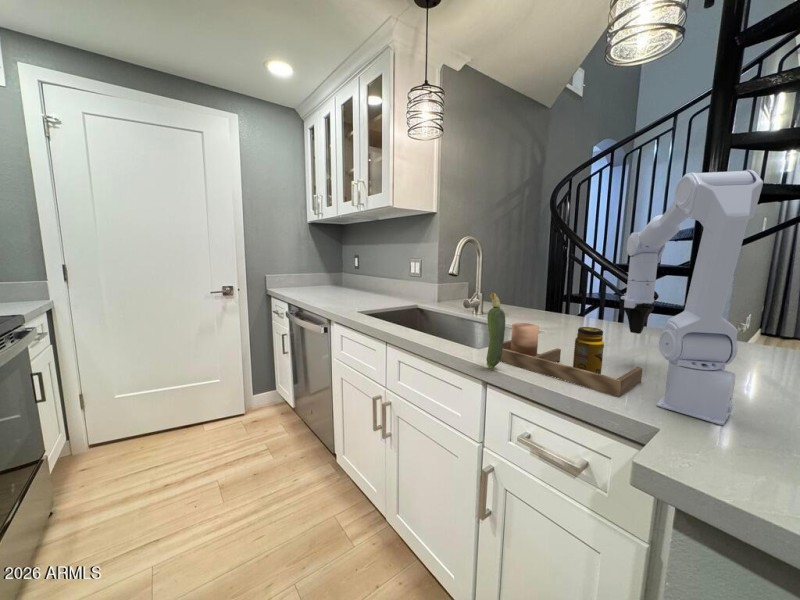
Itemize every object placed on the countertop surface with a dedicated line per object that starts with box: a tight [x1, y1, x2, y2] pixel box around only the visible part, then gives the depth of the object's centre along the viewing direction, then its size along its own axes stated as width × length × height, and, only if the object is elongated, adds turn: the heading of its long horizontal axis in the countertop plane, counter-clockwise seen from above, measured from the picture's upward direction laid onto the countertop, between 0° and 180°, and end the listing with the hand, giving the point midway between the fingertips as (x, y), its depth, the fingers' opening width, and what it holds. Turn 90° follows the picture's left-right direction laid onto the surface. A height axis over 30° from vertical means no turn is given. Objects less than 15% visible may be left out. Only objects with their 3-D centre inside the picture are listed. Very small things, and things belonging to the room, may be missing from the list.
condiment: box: [572, 326, 605, 375], centre depth 79 cm, size 7×8×12 cm
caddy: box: [499, 322, 643, 398], centre depth 84 cm, size 33×14×10 cm, turn 38°
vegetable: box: [486, 292, 506, 370], centre depth 83 cm, size 4×4×20 cm
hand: (635, 332), depth 85 cm, fingers closed
